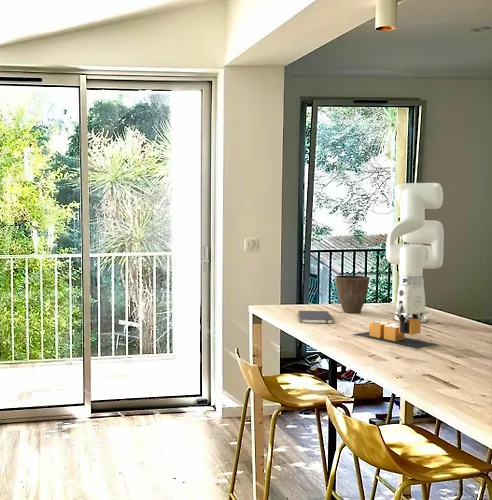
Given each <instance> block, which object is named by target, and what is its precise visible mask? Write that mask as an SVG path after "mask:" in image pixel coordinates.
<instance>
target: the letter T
mask: <svg viewBox="0 0 492 500" xmlns="http://www.w3.org/2000/svg"><path fill="white" fill-rule="evenodd" d="M408 322H409V333H408V334H406V333H405V335H411V336H412V335H417V334H421V329H422V328H421V324H422V322H421V319H417V318H412V317H409V318H408ZM398 325H399V332H400V321H398ZM400 333H401V332H400Z"/></svg>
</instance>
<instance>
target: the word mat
mask: <svg viewBox="0 0 492 500" xmlns="http://www.w3.org/2000/svg"><path fill="white" fill-rule="evenodd" d="M352 336H357V337H362V338H366V339H371V340H375V341H380V342H385V343H387V344H388V343H389V344H392V345H397V346H402V347H407V348H411V349H415V350H418V349H423V348H428V347H429V348H430V347H435V346H438V345H440V344H439V343H435V342H430V341H424V340H420V339H414V338H410V337H405V336H404V340H399V341H392V340H387V339H384V338H378V337H373V336H369V331H365V332H359V333H353V334H352Z"/></svg>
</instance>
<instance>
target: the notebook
mask: <svg viewBox="0 0 492 500" xmlns="http://www.w3.org/2000/svg"><path fill="white" fill-rule="evenodd" d="M298 317H299V320H300V323H302V324H333V323H334V322H333V320H334V318H332V316H331V314H330V313H329V311H328V310H298Z"/></svg>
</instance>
